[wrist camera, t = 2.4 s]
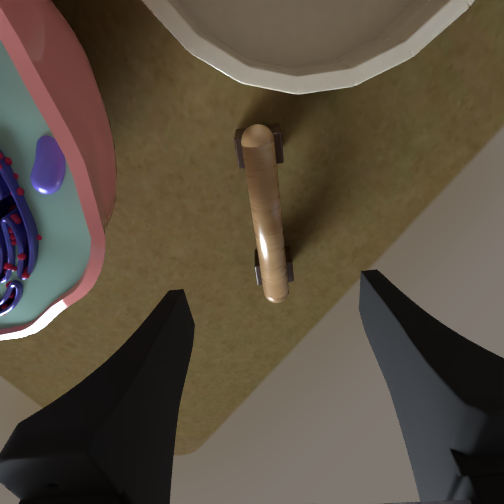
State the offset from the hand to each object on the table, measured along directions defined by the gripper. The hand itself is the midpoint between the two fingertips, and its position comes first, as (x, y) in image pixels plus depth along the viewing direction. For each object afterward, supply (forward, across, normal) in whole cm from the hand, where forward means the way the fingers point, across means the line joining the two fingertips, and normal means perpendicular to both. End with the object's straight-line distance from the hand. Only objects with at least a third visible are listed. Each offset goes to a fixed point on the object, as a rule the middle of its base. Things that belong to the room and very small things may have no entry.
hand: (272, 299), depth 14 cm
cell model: (+9, +14, -8) cm, 19 cm away
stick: (+7, 0, 0) cm, 7 cm away
